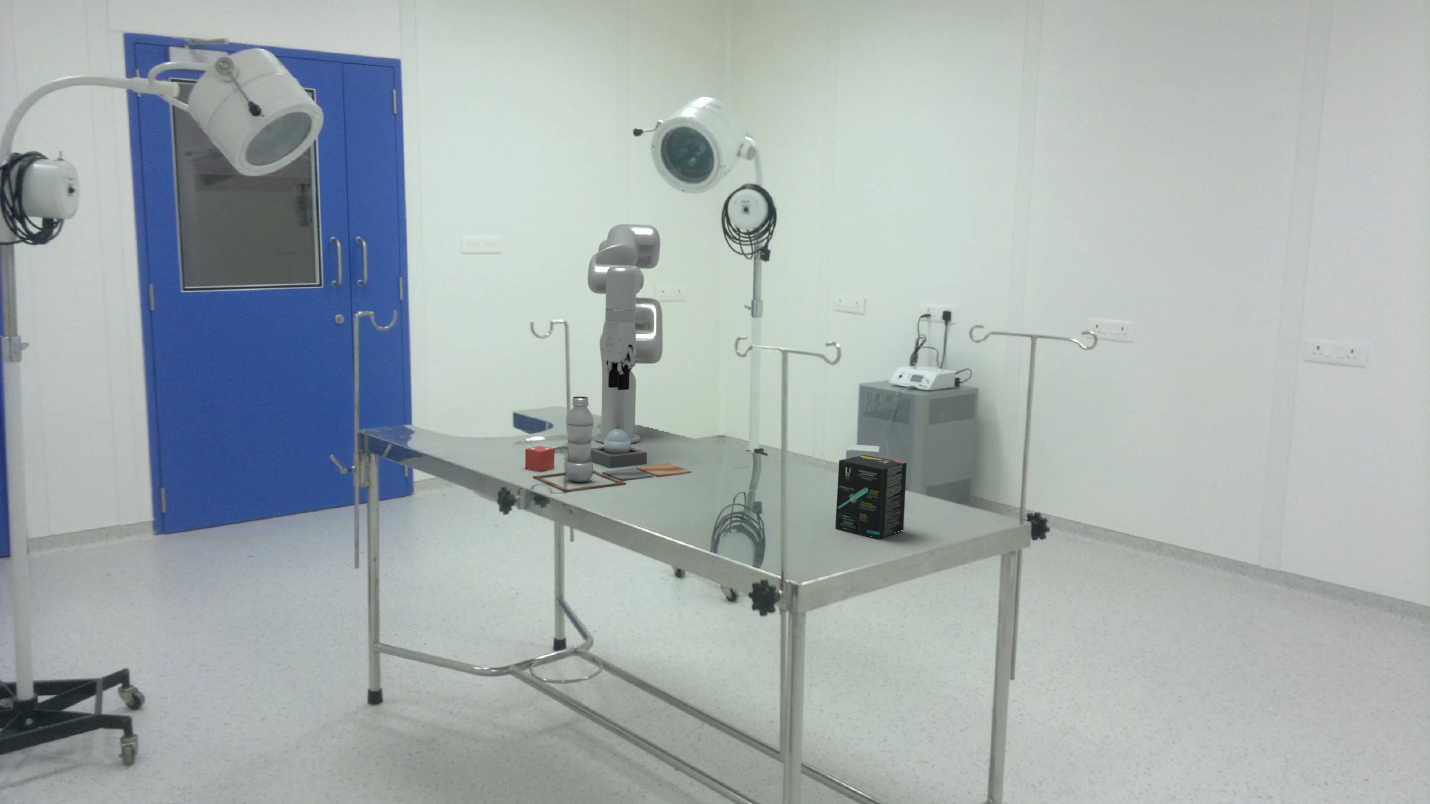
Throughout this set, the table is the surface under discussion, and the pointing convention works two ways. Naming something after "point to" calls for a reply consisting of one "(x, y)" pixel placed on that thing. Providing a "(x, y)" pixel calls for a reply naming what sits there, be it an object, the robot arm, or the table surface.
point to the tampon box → (871, 496)
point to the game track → (622, 475)
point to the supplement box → (862, 450)
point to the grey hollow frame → (618, 458)
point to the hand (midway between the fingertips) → (618, 387)
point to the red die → (539, 458)
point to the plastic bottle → (579, 441)
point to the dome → (617, 442)
